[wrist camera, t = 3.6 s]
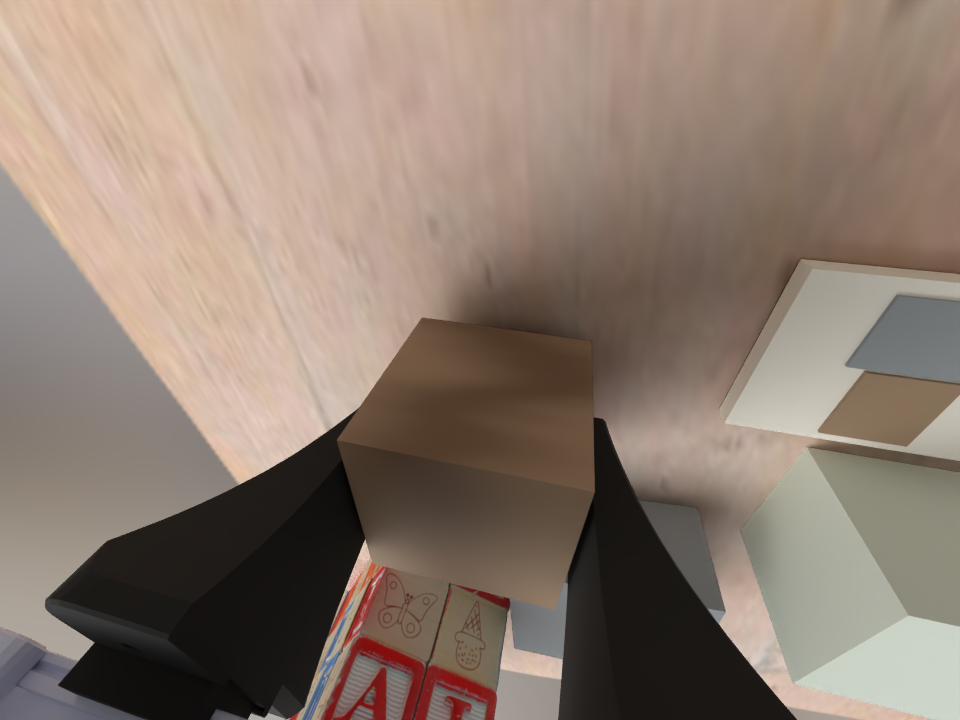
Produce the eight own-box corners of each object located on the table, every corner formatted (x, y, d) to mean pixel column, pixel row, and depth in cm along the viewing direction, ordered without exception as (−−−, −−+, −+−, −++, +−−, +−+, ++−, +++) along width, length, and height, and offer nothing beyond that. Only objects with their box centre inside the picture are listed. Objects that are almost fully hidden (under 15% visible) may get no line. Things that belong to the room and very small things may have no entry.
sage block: (988, 475, 12) (1198, 679, 8) (881, 557, 15) (991, 734, 11) (805, 445, 12) (908, 615, 8) (739, 528, 15) (792, 683, 11)
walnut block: (591, 341, 11) (594, 491, 7) (564, 457, 14) (555, 609, 10) (422, 317, 12) (336, 440, 8) (430, 432, 14) (372, 563, 11)
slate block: (696, 502, 15) (725, 611, 12) (663, 586, 19) (679, 685, 16) (521, 480, 17) (507, 572, 14) (524, 562, 21) (514, 648, 18)
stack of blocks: (399, 640, 33) (321, 875, 23) (332, 611, 32) (223, 840, 22) (520, 546, 20) (458, 994, 10) (412, 494, 19) (235, 917, 10)
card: (1168, 293, 8) (1211, 309, 8) (979, 450, 11) (1000, 469, 10) (800, 258, 9) (814, 270, 9) (718, 409, 12) (725, 425, 12)
